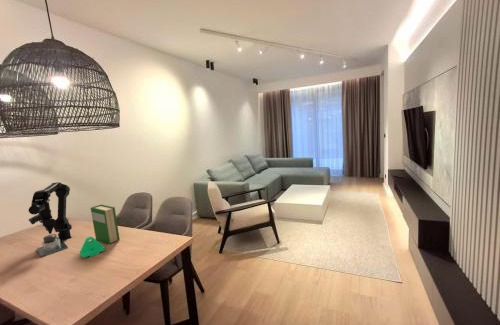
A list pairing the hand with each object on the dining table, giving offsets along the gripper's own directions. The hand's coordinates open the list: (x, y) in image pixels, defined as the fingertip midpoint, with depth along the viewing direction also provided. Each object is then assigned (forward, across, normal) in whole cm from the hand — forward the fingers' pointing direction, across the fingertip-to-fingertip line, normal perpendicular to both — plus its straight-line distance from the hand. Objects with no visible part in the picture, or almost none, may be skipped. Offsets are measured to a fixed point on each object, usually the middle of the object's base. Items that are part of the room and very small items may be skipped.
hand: (49, 232), depth 163 cm
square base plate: (+12, 0, 0) cm, 12 cm away
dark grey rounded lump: (+8, 0, 0) cm, 9 cm away
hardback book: (+12, +19, +28) cm, 36 cm away
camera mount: (+12, +33, +15) cm, 38 cm away
